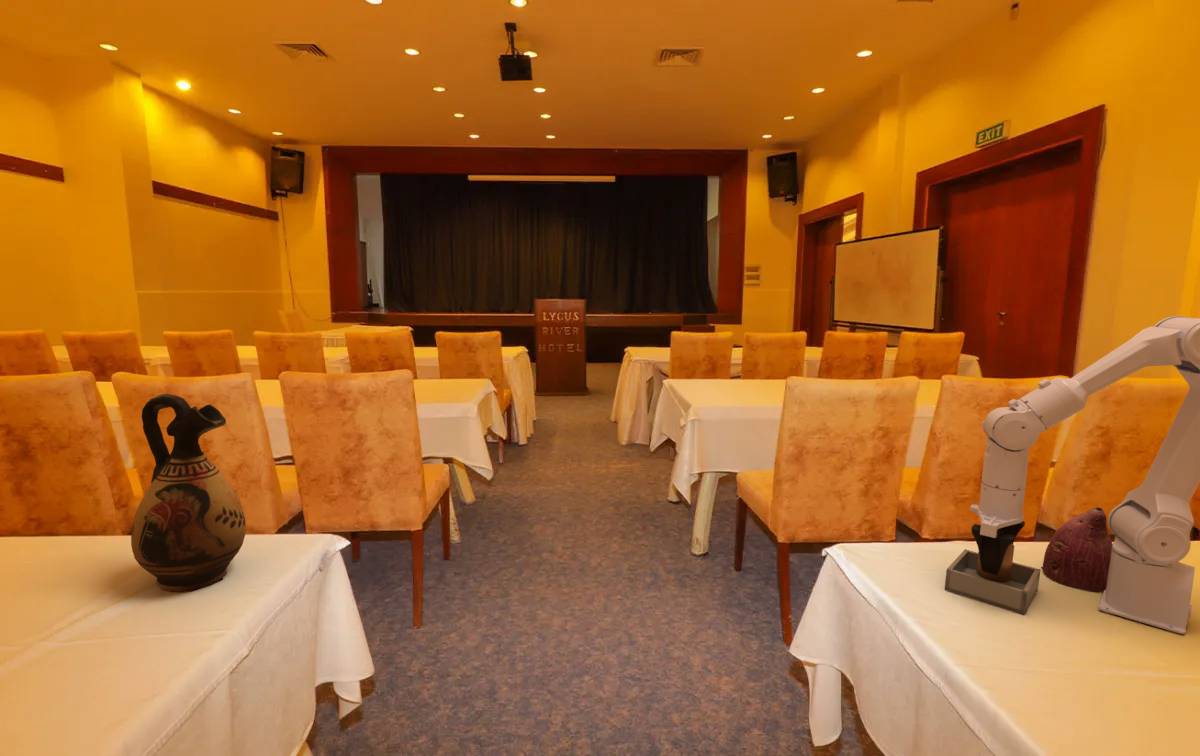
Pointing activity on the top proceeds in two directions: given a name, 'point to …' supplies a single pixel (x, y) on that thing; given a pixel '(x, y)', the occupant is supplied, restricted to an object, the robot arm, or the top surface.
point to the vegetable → (1080, 552)
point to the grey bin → (993, 584)
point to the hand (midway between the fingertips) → (993, 567)
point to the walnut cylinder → (1004, 571)
